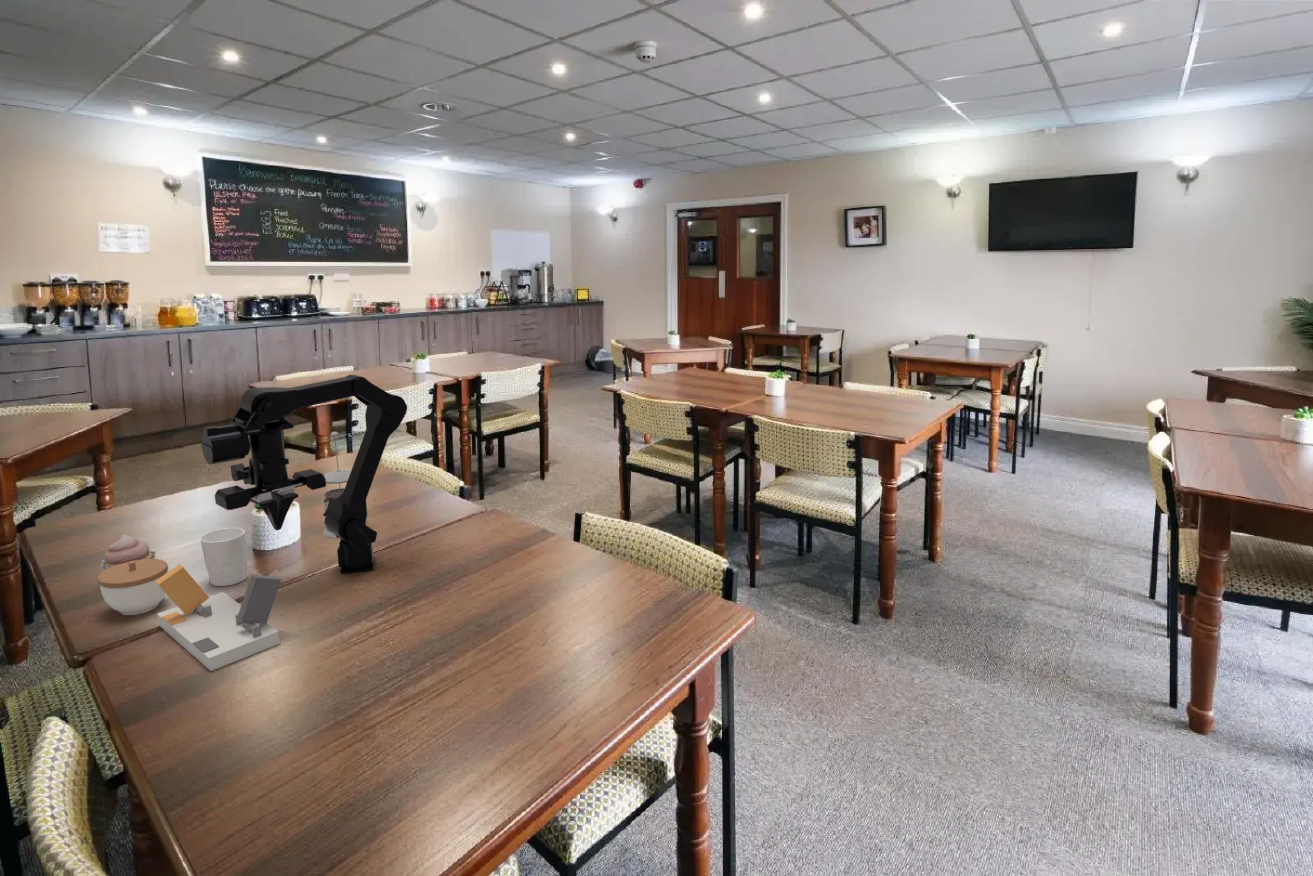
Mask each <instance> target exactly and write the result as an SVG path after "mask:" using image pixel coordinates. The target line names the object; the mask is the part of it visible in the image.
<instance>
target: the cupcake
mask: <svg viewBox="0 0 1313 876" xmlns="http://www.w3.org/2000/svg"><path fill="white" fill-rule="evenodd" d="M156 553H157V552H156V551H155V550H153V551H152V550H151V549H150V547H149V545H148V543H147V542H146V541H144V540H143V539H140V538H135V537H133V536H132V535H131V536H130V535H126V534H121V537H120V539H119V540H117V541H116V542H113V543H111V545H109V547H108V550H106V552H105V553H104V559H103V560H101V564H100V567H101V568H102V569H103V570H104V571H105V570H106V569H108V568H111V567H113V566H116V565H119V564H122V563H125V562H130V561H135V560H142V559H156Z"/></svg>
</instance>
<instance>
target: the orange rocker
mask: <svg viewBox="0 0 1313 876" xmlns="http://www.w3.org/2000/svg"><path fill="white" fill-rule="evenodd" d="M155 582H156V583H157V584H158V585H159V586H160V588H161V589H162V590H163V591H164V592H165V593H166V595H167V597H168V598H169V599H170V600H171V601H172V603H174V604H175V606H176V607H178V608H179V609H180V610H181V611H182V612H183V613H184V614H186V615H187V614H189V613H190V612H191V611H193V610H194V609H195V610H196V611H197V612H199V613H200V614H201V615H203V609H202V607H203V606H202V605H201V604H202V603H203V602H205V601H206V600H207V599H209V596H208V594H207V593H206V592H205V590H203V589H202V587H201V586H200V585H199V584H198V583H197V581H196V580H195V579H194V577H192V576H191V574H190V573H189V572H188V571H187V570H186V569H185V568H184V566H182V565H181V564H178V565H176V566H175V567H174V568H173V569H171V570H168V573H166V574H165V575H163V576H162V577H161V578H159V579H158V580H156V581H155Z"/></svg>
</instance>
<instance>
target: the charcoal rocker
mask: <svg viewBox="0 0 1313 876" xmlns="http://www.w3.org/2000/svg"><path fill="white" fill-rule="evenodd" d="M250 575H251V576H250V579H249V581H248V585H247V588H246V590H245V592H244V593H245V594H244V597H243V599H242V603H241V604H240V605H241V608H240V611H239V614H238V617H237V620H238V621H239V622H240V623H242V624H243V625H244V626H246V627H247V628H249V629H250V630H251V631H252V627H254V626H256V623H259V624H268V621H269V618H270V614H271V612H272V608H273V606H274V602H275V600H276V596H277V593H278V591H279V587H280V584H281V581H282V579H281V578H280V577H278V576H271V575H263V574H262V575H261V574H250Z"/></svg>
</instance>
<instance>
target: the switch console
mask: <svg viewBox="0 0 1313 876" xmlns="http://www.w3.org/2000/svg"><path fill="white" fill-rule="evenodd" d="M208 597H209V599H207V600H206V601H205V602H203V603H202V604H201V605H202V606H203V607H202V609H203V615H201V614H200V613H199V612H197V611H196V610H195V609H194V610H193V611H191V612H190V613H189V614H187V615H186V614H184V613H183V612H182V611H181V610H180V609H179V608H178V606H176V607H173V608H170V609H166V610H164V611H161V612H158V613H156V615H157V621H158V625H159V627H161V628H162V629H163V631H165V632H166V633H167V634H168V635H169V636H170V637H171V638H172V639H174V640H175V641H176V642H177V643H178V644H180V645H181V646H182V647H183V648H184V649H185V650H186V651H187V652H189V653H190V655H192V656H193V657H194V658H195V659H196V660H198V661H199V662H200V663H201V664H202V665H203V666H204V667H205V668H206V669H208V670H209V671H211V672H212V671H215V670H217V669H220V668H222V667H225V666H228V665H230V664H233V663H235V662H237V661H240V660H243V659H245V658H248V657H250V656H252V655H255V654H258V653H260V652H262V651H265V650H268V649H270V648H272V647H275V646H278V645H280V644H281V639H280V634H279V630H277V629H276V628H274V627H273V626H271V625H270V624H269V623H267V624H259V623H256V626H254V627H252V631H251V630H250V629H249V628H247V627H246V626H244V625H243V624H242V623H240V622H239V621H238V620H237V617H238V614H239V611H240V608H241V605H242V604H240V603H239V602H237V600H235V599H233V598H232V597H230V596H229V595H228V594H226V593H225V592H219V593H217V594H213V595H210V596H208Z"/></svg>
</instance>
